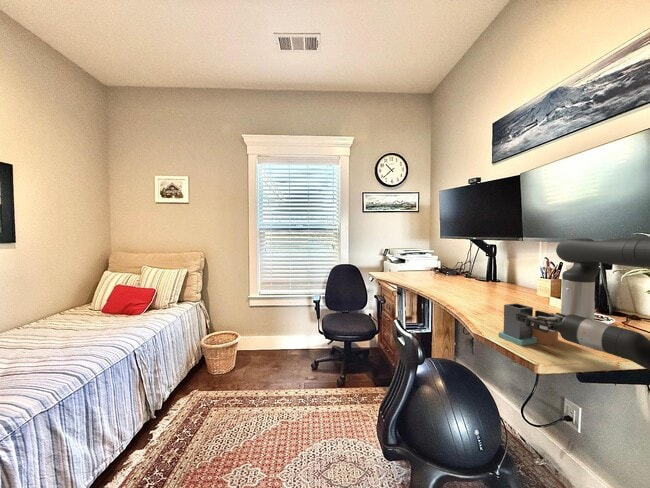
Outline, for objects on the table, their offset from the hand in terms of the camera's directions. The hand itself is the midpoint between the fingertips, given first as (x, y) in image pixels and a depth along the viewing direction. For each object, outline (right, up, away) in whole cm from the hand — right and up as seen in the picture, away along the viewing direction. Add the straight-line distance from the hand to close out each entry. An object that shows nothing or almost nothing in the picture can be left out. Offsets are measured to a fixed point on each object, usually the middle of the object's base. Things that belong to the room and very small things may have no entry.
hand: (526, 314), depth 88 cm
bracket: (+8, -9, +9) cm, 15 cm away
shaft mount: (0, -9, +4) cm, 10 cm away
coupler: (0, -8, +4) cm, 9 cm away
